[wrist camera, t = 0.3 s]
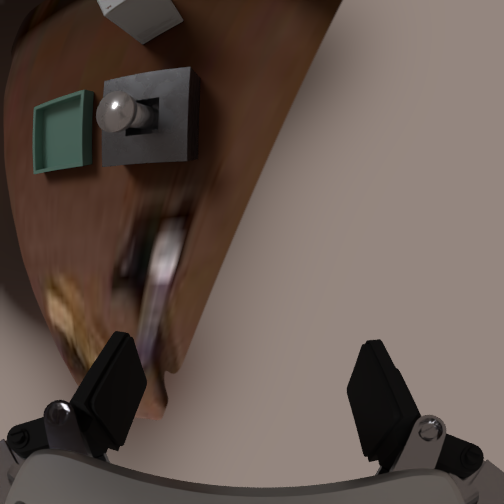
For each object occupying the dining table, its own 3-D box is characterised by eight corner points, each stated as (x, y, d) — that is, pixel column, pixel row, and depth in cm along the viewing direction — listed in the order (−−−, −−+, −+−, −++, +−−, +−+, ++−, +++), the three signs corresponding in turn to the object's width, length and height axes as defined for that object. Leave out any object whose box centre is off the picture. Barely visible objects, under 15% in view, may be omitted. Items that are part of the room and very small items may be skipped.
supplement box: (185, 21, 28) (158, -18, 16) (142, 46, 29) (102, 17, 17) (168, -5, 25) (140, -44, 14) (128, 18, 27) (89, -12, 15)
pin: (142, 107, 32) (97, 95, 21) (171, 103, 32) (133, 87, 21) (141, 136, 34) (95, 135, 22) (170, 133, 34) (131, 129, 22)
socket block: (124, 88, 32) (104, 81, 26) (200, 78, 31) (190, 66, 26) (122, 163, 36) (102, 166, 30) (198, 159, 36) (187, 161, 30)
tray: (43, 107, 32) (34, 107, 29) (93, 91, 31) (84, 89, 29) (43, 171, 36) (33, 174, 33) (92, 164, 36) (82, 165, 33)
